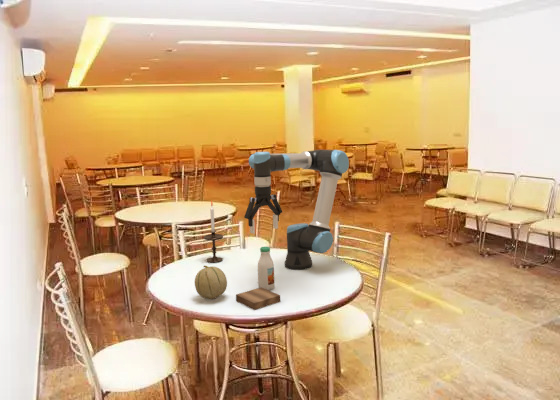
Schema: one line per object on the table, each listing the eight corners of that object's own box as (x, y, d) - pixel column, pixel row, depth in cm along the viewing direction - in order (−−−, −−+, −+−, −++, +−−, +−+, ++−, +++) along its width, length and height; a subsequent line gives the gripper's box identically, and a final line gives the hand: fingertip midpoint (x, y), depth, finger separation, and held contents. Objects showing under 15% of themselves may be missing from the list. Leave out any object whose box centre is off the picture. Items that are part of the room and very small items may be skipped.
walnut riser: (261, 293, 228) (261, 287, 228) (280, 301, 217) (280, 295, 217) (236, 301, 220) (235, 294, 219) (254, 310, 209) (254, 303, 208)
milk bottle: (262, 292, 230) (261, 250, 227) (255, 287, 237) (254, 246, 233) (277, 289, 233) (276, 248, 230) (270, 284, 240) (268, 244, 237)
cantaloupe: (222, 304, 216) (220, 271, 213) (190, 303, 219) (188, 270, 216) (231, 292, 230) (230, 261, 228) (201, 291, 233) (199, 261, 230)
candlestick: (208, 257, 289) (204, 199, 283) (226, 258, 287) (223, 198, 281) (202, 263, 278) (199, 202, 272) (221, 263, 277) (218, 202, 271)
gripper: (245, 189, 216) (246, 236, 220) (288, 183, 231) (289, 227, 235) (235, 187, 222) (237, 233, 225) (278, 182, 237) (280, 225, 241)
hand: (264, 230), depth 230 cm, fingers open, 13 cm apart
